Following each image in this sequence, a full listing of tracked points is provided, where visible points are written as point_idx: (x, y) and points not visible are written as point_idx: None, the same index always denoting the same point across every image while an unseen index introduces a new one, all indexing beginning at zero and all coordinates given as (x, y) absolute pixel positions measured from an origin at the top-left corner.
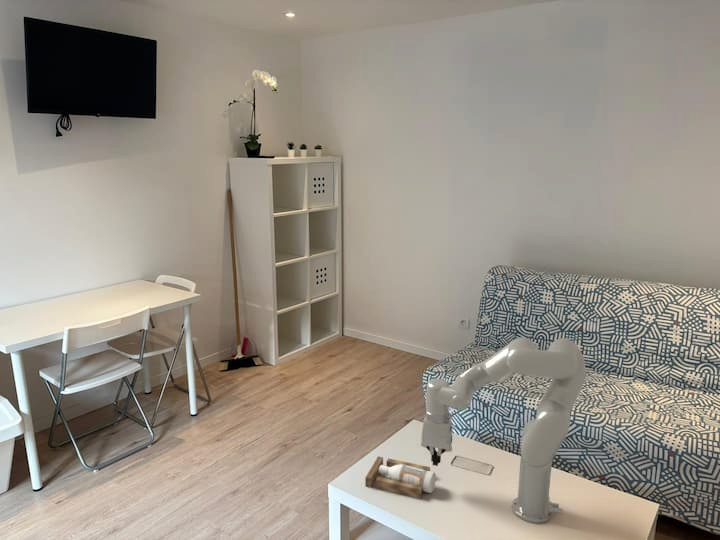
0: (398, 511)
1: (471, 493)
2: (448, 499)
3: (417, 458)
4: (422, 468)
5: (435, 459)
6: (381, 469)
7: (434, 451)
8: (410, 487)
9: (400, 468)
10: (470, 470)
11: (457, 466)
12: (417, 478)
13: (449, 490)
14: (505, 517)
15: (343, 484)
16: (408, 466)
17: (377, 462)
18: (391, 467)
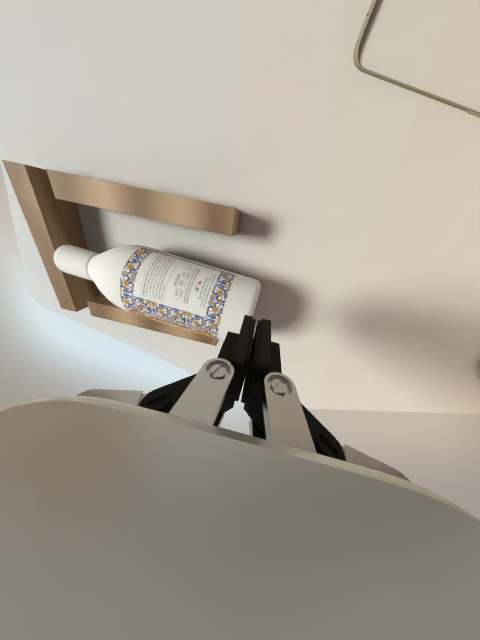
0: (185, 365)
1: (377, 295)
2: (295, 326)
3: (168, 39)
4: (203, 227)
5: (244, 383)
6: (72, 274)
7: (227, 404)
8: (187, 338)
9: (121, 303)
10: (456, 107)
11: (389, 78)
12: (195, 332)
13: (304, 288)
14: (434, 376)
15: (42, 296)
16: (142, 290)
17: (34, 215)
18: (92, 278)
